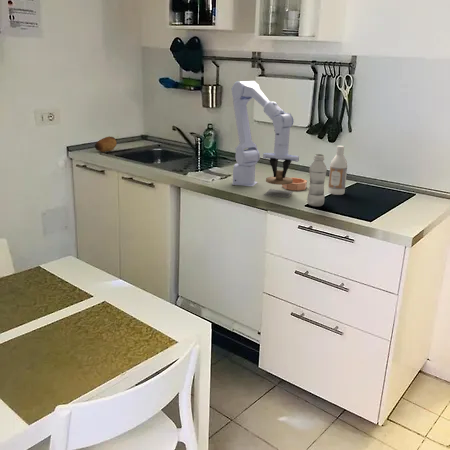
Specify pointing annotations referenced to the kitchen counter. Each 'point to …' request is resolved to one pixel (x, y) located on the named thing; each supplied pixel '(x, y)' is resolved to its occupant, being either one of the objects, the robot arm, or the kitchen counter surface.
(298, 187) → the bowl
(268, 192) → the mat
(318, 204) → the plastic bottle
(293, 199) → the kitchen counter surface
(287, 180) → the lid
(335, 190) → the bath foam
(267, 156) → the robot arm
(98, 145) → the potato
